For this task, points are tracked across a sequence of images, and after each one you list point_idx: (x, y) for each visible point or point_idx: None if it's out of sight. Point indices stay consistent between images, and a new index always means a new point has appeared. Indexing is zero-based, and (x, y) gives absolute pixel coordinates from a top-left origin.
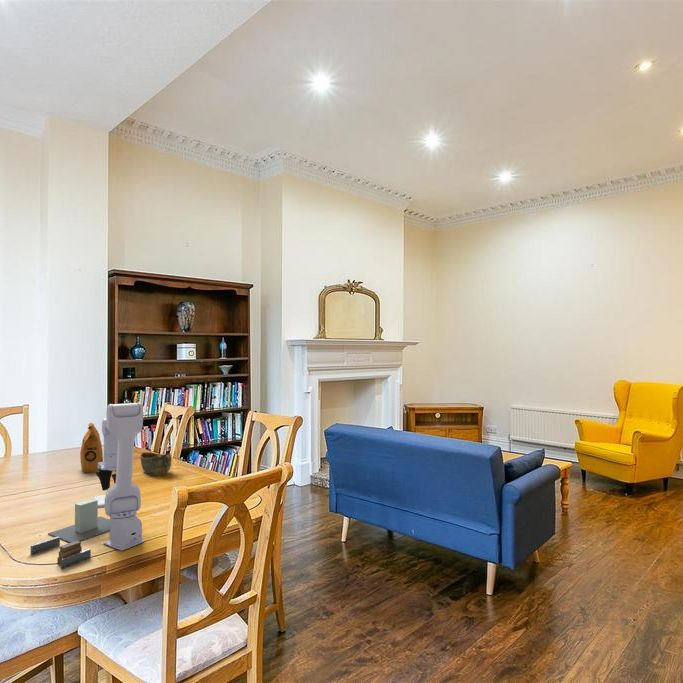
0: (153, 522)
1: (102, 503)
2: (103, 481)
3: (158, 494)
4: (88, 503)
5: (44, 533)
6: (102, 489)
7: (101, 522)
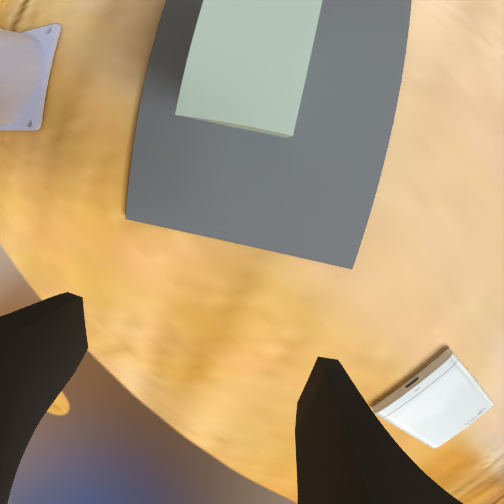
0: (65, 292)
1: (436, 381)
2: (337, 453)
3: (292, 485)
4: (204, 7)
5: (435, 5)
6: (340, 365)
7: (269, 193)
